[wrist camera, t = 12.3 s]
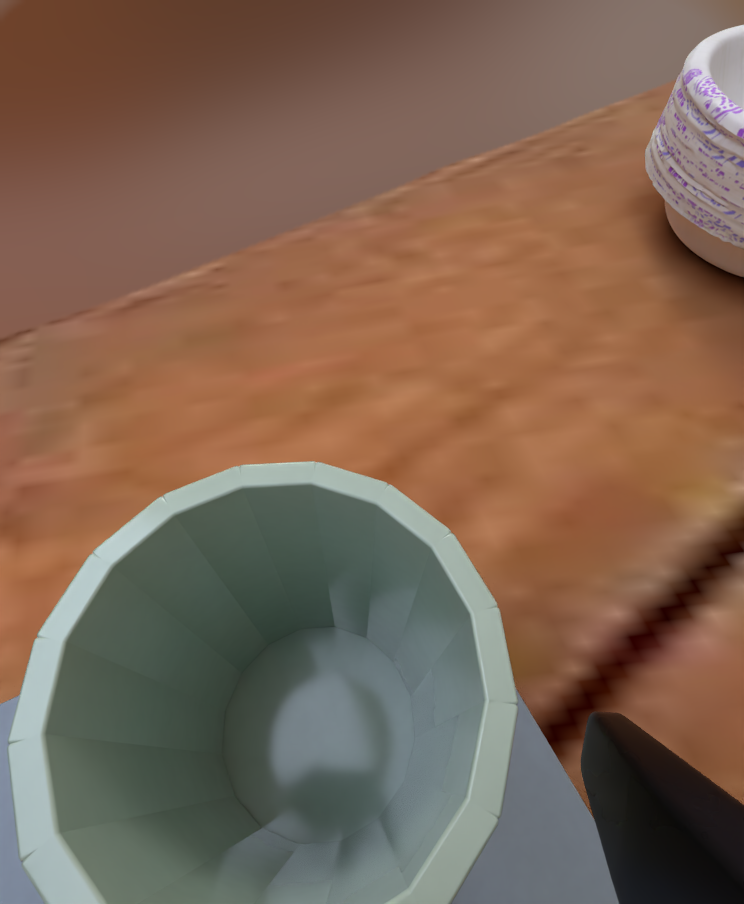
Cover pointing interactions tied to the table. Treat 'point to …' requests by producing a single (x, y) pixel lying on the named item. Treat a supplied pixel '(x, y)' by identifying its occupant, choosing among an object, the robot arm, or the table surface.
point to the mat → (499, 865)
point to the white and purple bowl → (705, 152)
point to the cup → (265, 703)
